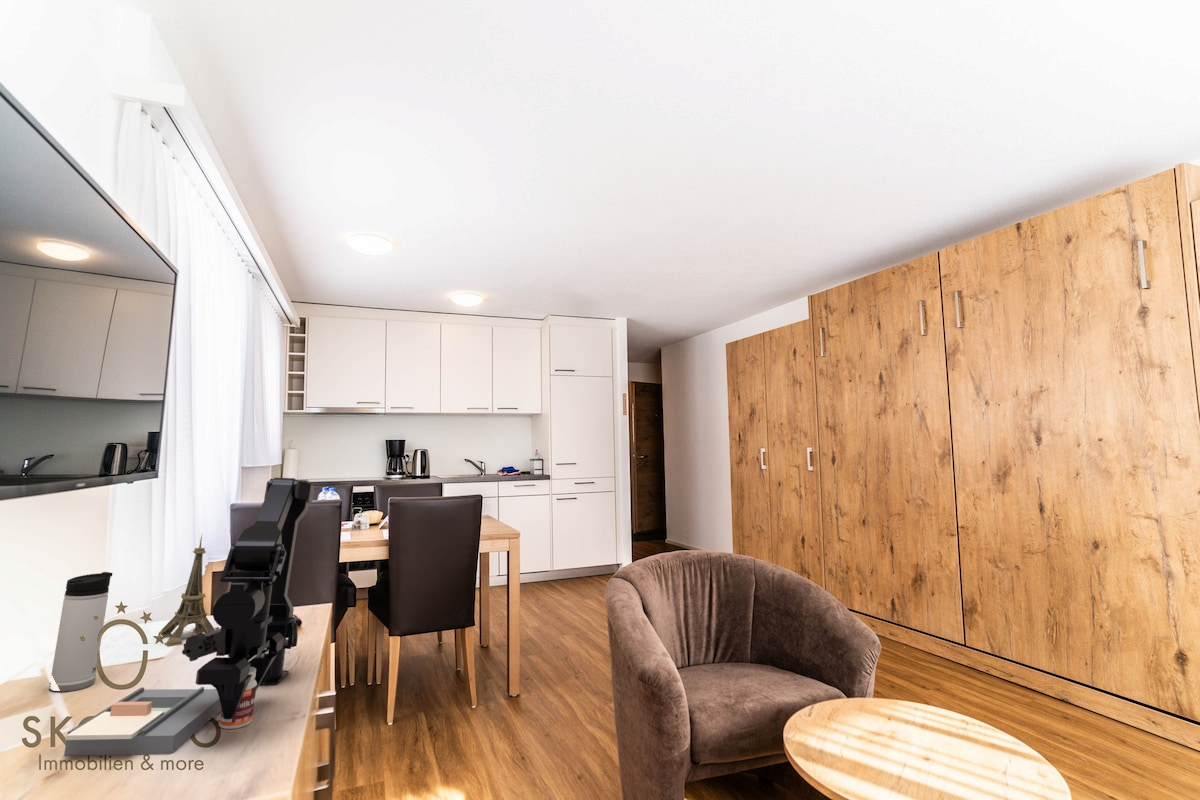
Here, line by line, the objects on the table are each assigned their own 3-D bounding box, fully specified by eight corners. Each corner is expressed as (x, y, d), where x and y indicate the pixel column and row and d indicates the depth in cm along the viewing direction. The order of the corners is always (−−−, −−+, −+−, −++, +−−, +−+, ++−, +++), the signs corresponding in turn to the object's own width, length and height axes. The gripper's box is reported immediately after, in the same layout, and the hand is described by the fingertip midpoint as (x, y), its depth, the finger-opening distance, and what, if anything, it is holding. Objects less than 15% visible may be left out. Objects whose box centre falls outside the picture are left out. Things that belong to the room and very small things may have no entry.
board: (141, 704, 100) (144, 685, 100) (229, 703, 102) (231, 684, 102) (64, 755, 82) (67, 732, 83) (171, 753, 84) (174, 730, 85)
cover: (104, 715, 89) (106, 700, 89) (163, 715, 90) (165, 700, 90) (65, 740, 81) (67, 723, 81) (131, 738, 82) (133, 722, 83)
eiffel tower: (167, 647, 130) (183, 534, 133) (154, 636, 136) (169, 529, 139) (220, 638, 138) (234, 532, 141) (205, 628, 144) (219, 527, 147)
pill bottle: (236, 731, 92) (243, 676, 93) (211, 727, 93) (218, 673, 94) (259, 719, 97) (265, 667, 98) (235, 715, 98) (241, 664, 99)
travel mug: (104, 682, 108) (121, 573, 111) (62, 694, 102) (81, 579, 104) (83, 677, 110) (100, 570, 113) (40, 688, 104) (59, 575, 106)
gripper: (224, 599, 105) (212, 689, 103) (165, 627, 87) (149, 737, 85) (289, 600, 107) (279, 688, 105) (244, 628, 88) (231, 735, 86)
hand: (237, 710), depth 95 cm, fingers open, 6 cm apart
